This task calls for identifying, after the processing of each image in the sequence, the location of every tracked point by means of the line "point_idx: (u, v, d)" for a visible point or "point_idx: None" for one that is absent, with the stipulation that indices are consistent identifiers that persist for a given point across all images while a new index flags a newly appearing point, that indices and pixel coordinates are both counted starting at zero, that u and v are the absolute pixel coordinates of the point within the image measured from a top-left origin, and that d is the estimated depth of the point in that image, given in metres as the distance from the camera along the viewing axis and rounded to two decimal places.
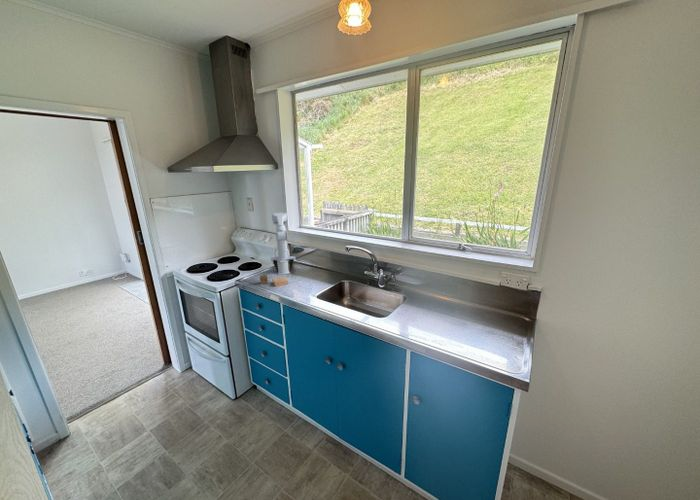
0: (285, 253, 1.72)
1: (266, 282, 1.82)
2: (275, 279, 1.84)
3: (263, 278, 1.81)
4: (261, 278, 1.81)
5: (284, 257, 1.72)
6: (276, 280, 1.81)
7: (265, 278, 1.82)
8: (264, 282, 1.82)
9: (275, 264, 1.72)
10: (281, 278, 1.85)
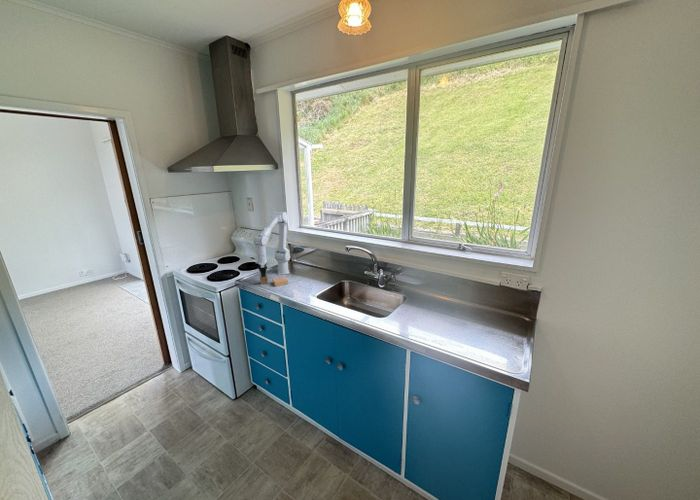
0: (258, 257, 1.77)
1: (266, 282, 1.82)
2: (275, 279, 1.84)
3: (263, 278, 1.81)
4: (261, 278, 1.81)
5: (257, 261, 1.79)
6: (276, 280, 1.81)
7: (265, 278, 1.82)
8: (264, 282, 1.82)
9: (258, 264, 1.85)
10: (281, 278, 1.85)
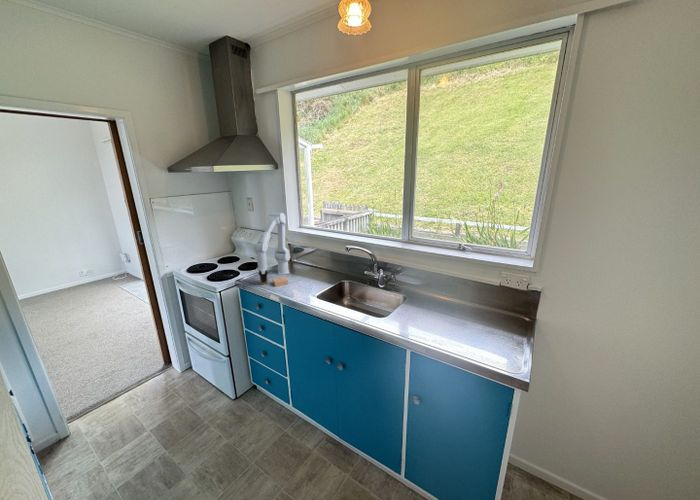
0: (258, 264, 1.79)
1: (266, 282, 1.82)
2: (275, 279, 1.84)
3: None
4: None
5: (258, 267, 1.80)
6: (276, 280, 1.81)
7: None
8: (264, 282, 1.82)
9: (259, 271, 1.85)
10: (281, 278, 1.85)
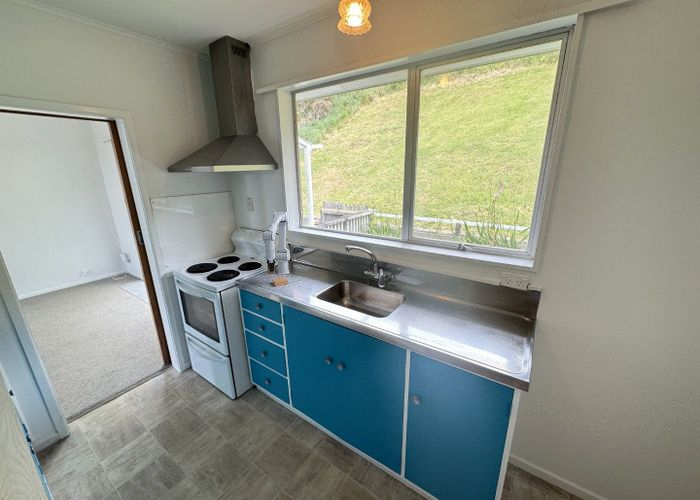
0: (266, 252, 1.76)
1: (274, 272, 1.80)
2: (275, 279, 1.84)
3: None
4: (268, 268, 1.78)
5: (266, 256, 1.77)
6: (276, 280, 1.81)
7: None
8: (272, 272, 1.80)
9: (267, 260, 1.83)
10: (281, 278, 1.85)
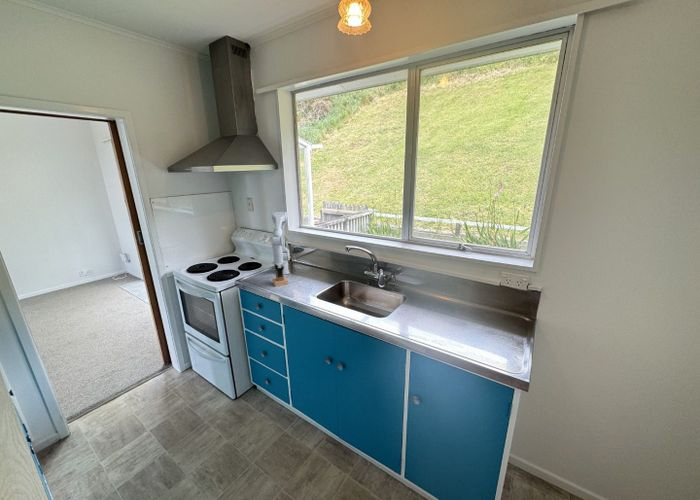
0: (274, 258, 1.77)
1: (282, 279, 1.81)
2: (275, 279, 1.84)
3: None
4: (277, 274, 1.80)
5: (274, 261, 1.78)
6: (276, 280, 1.81)
7: None
8: (280, 278, 1.81)
9: None
10: None
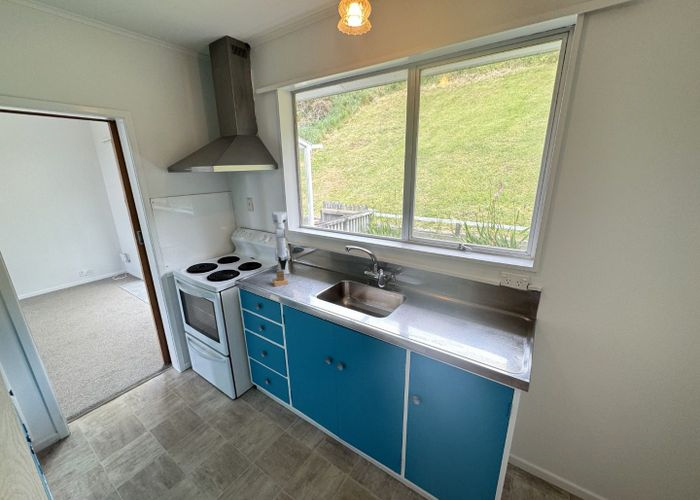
0: (278, 250, 1.78)
1: (283, 278, 1.81)
2: (275, 279, 1.83)
3: (280, 274, 1.80)
4: (278, 274, 1.80)
5: (277, 253, 1.79)
6: (276, 280, 1.81)
7: (282, 274, 1.80)
8: (281, 278, 1.81)
9: (278, 257, 1.86)
10: None
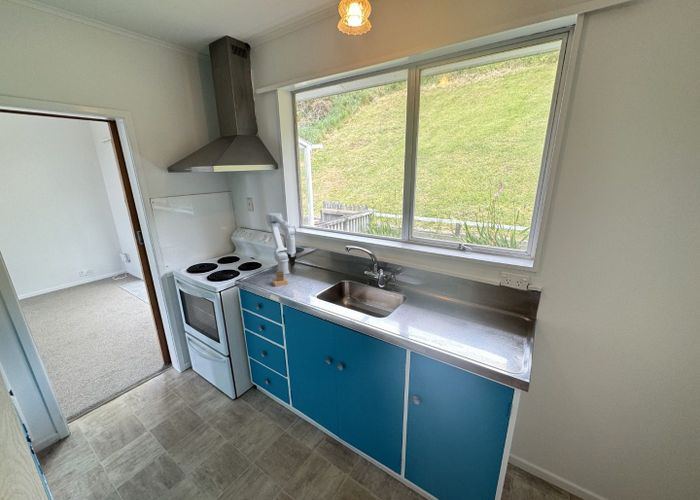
0: (287, 247, 1.85)
1: (282, 279, 1.81)
2: (275, 279, 1.83)
3: (279, 274, 1.80)
4: (277, 274, 1.79)
5: (287, 250, 1.86)
6: (276, 280, 1.81)
7: (281, 275, 1.80)
8: (280, 279, 1.81)
9: (287, 254, 1.92)
10: None
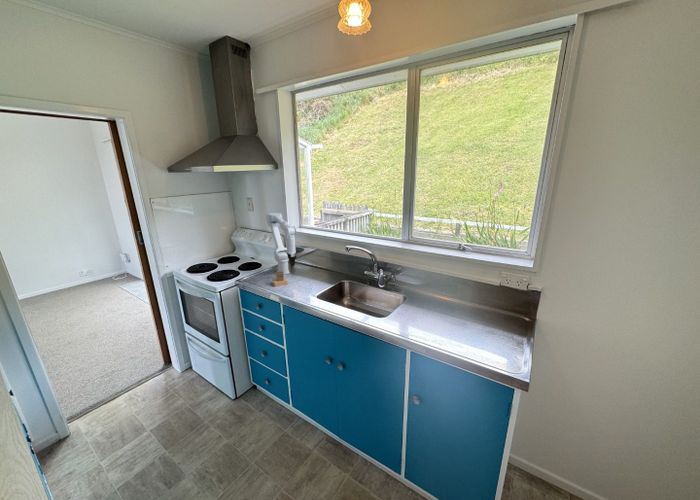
0: (287, 247, 1.85)
1: (282, 279, 1.81)
2: (275, 279, 1.83)
3: (279, 275, 1.80)
4: (277, 274, 1.79)
5: (287, 250, 1.86)
6: (276, 280, 1.81)
7: (281, 275, 1.80)
8: (280, 279, 1.81)
9: (287, 254, 1.92)
10: None
